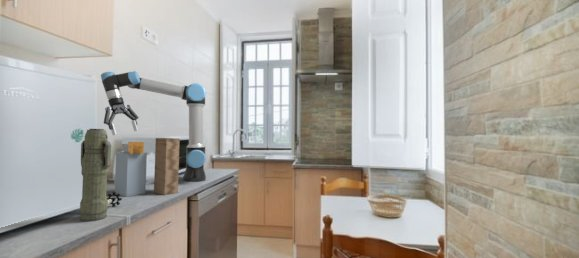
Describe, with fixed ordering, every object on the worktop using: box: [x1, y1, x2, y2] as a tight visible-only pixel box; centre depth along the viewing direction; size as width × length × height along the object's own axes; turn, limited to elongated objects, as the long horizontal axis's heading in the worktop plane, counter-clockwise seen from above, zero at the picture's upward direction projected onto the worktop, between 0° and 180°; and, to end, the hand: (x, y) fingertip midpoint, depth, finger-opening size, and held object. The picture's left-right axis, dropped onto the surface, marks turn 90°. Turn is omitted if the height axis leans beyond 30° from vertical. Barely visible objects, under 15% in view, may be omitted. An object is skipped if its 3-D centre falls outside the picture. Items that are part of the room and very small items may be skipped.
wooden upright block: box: [153, 137, 181, 196], centre depth 158 cm, size 8×10×30 cm
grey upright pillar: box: [114, 151, 148, 198], centre depth 154 cm, size 10×12×22 cm
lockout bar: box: [121, 141, 145, 154], centre depth 155 cm, size 6×20×6 cm, turn 45°
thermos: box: [79, 128, 112, 222], centre depth 112 cm, size 9×12×35 cm
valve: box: [107, 191, 123, 208], centre depth 123 cm, size 7×7×12 cm
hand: (125, 132), depth 170 cm, fingers open, 13 cm apart
